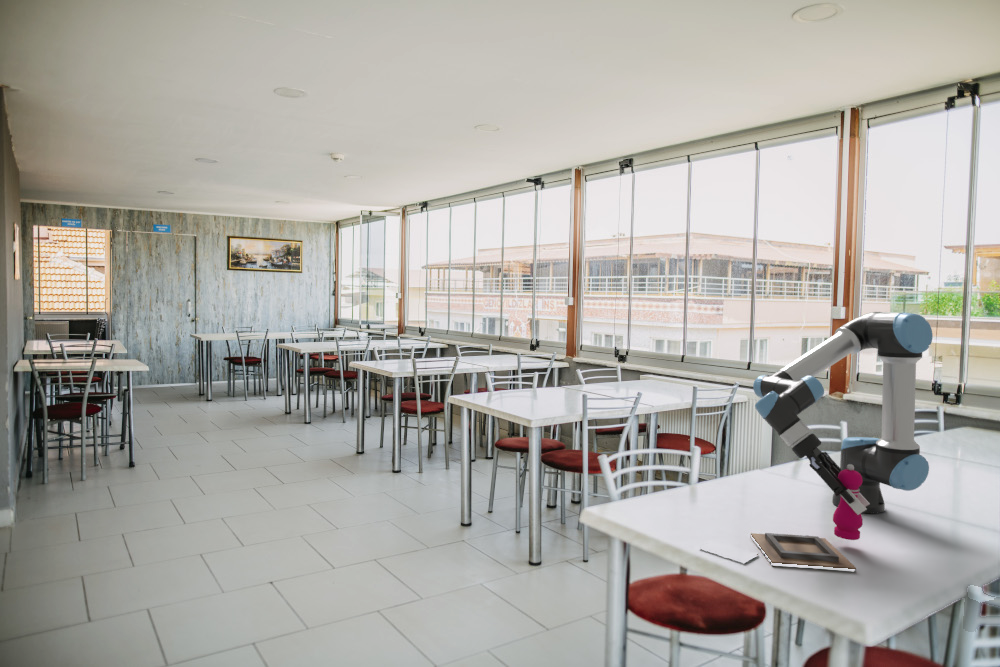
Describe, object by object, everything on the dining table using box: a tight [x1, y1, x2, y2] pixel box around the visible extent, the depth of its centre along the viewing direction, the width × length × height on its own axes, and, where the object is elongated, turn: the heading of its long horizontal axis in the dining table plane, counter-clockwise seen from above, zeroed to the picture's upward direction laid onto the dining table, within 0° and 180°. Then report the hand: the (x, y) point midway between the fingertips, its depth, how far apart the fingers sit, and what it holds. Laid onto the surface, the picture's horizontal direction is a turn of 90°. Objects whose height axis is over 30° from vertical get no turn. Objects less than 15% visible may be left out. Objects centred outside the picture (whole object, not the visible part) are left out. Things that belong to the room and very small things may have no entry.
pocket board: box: [750, 532, 857, 570], centre depth 171 cm, size 20×20×3 cm
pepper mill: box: [832, 464, 863, 541], centre depth 176 cm, size 7×7×20 cm
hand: (863, 509), depth 174 cm, fingers closed on pepper mill, 5 cm apart
